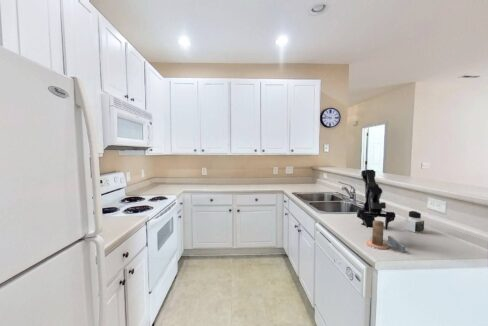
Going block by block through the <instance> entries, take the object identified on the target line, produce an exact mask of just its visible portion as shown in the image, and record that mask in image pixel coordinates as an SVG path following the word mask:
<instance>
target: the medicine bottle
mask: <svg viewBox="0 0 488 326" xmlns="http://www.w3.org/2000/svg"><path fill="white" fill-rule="evenodd" d="M421 215H422V213H421V212H419V211H416V210H410V211H409V212H408V217H406V218H404V230H407V231H409V232H412V233H414V234H417V233H423V232H425V229H424V228H425V220H423V219H421V218H422V216H421Z"/></svg>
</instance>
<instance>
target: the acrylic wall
mask: <svg viewBox="0 0 488 326" xmlns="http://www.w3.org/2000/svg"><path fill="white" fill-rule="evenodd" d="M387 242H388V243H389V244H390V245H392V246H393V247H394V248H396V249H397V250H398V251H400V253H406V251H405V248H406V246H404V245H403V244H401V242H399V241H397V240H396V239H395V238H394V237H392V236H391V235H387Z"/></svg>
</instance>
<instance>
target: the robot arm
mask: <svg viewBox="0 0 488 326" xmlns="http://www.w3.org/2000/svg"><path fill="white" fill-rule="evenodd" d="M360 175H361V176H360V177H361V179H362V181H363V182H364V190H365V202H364V203H363V206H362V208H358V209H357V211H356V218H358V219H360V220H361V221H362V223H360V224H361V225H362V226H365V227H366V228H367V229H368V228H371V227H372V228H373V221H375V220H376V218H385V220H384V228H385V231H387V230H388V226H389V223H391V222H394V221H395V219H396V213H395V212H394V211H386V212H385V213H382V211H383V209H386V207H387V206H386V205H387V203H386V202H384V201H383V202H382V201H380V199H381V196H382V194H383V189H382V188H381V187H380V186H379V184H378V183H377V182H376V178H375V177H376V171H375V170H374V169H365V170H362V171H361V172H360ZM380 202H381V203H380Z"/></svg>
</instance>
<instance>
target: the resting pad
mask: <svg viewBox="0 0 488 326" xmlns="http://www.w3.org/2000/svg"><path fill="white" fill-rule="evenodd" d="M365 244H366V245H367V246H368V245H369V246H368V247H370V246H371V247H370V248H372V247H374V248H373V249H376V248H378V249H377V250H388V249H390V244H388V243H387V242H385V241H383V245H382V246H377V245H374V244H372V239H367V240H365Z"/></svg>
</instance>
